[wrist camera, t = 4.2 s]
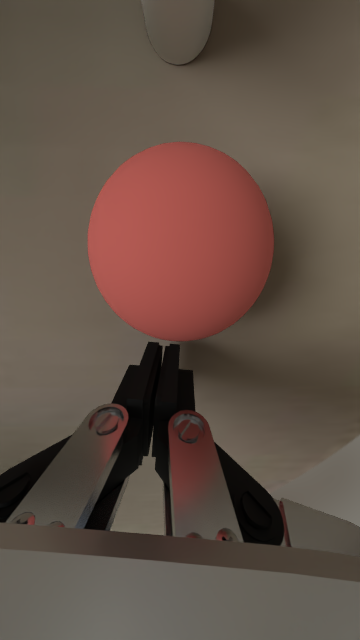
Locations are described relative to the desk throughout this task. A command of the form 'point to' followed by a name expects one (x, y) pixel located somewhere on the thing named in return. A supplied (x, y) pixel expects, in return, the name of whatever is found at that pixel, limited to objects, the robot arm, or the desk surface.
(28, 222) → the desk surface
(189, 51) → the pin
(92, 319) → the desk surface
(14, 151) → the desk surface
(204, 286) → the ball
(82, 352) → the desk surface
